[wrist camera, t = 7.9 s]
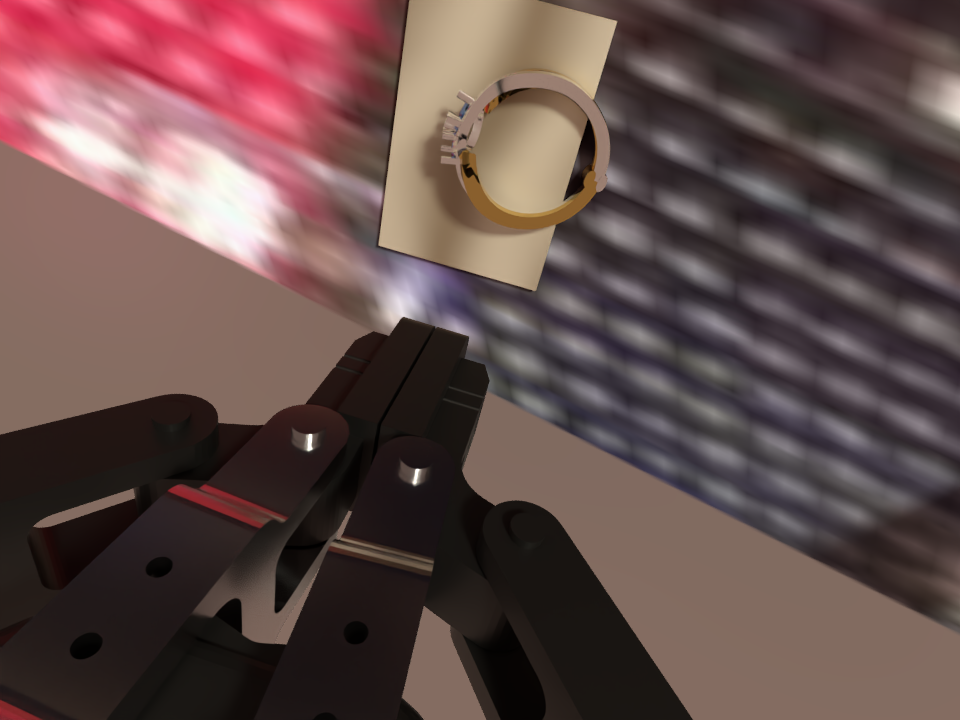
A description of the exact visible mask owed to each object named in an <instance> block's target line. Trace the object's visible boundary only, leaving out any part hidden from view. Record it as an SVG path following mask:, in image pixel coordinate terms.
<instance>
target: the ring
mask: <svg viewBox="0 0 960 720" xmlns="http://www.w3.org/2000/svg"><path fill="white" fill-rule="evenodd" d="M528 89H548V90H552V91H556V92H558V93H561V94H563V95H565V96H566V97H568V98H569V99H571V100H572V101H573V102H575V103H576V104H577V105H578V106H579V107H580V108H581V109H582V111H583V112H584V113H585V115H586V116H587V118H588V119H589V121H590V124H591V126H592V130H593V134H594V155H593V160H592V163H591V165H588V166H586V167H585V169H584V170H583V172H582V176H581V178H582V181H583V183H582V185H581V186H580V187H579V188H578V189H577V191H576V192H575V193H574V194H573V195H571V196H570V197H569V198H568V199H566V200H565V201H563V202H562V203H560V204H558V205H556V206H554V207H551V208H548V209H544V210H539V211H519V210H515V209H511V208H508V207H506V206H504V205H502V204H500V203H498V202H497V201H495V200H494V199H492V198H491V197H490V196H489V195H488V193H487V192H486V190H485V189H484V187H483V185H482V182H481V180H480V177H479V173H478V168H477V160H476V154H474V153H471V151H472V150H473V148H474V146H475V144H476V142H477V139H478V137H479V134H480V131H481V127H482V123H483V117H484V113H485V114H489V113H490V112H491V111H492V110H493V109H494V108H495V107H496V106H497V105H498V104H500V103H501V102H502V101H503V100H505V99H506V98H508V97H510V96H511V95H513V94H515V93H518V92H520V91H524V90H528ZM456 97H457V98H459V99H460V100H462V101H464V102H465V104H464V106H463V107H462V109H461V111H460V113H459V116H458V115H456V114H454V113H453V112H451V111H449V112H448V114H447V116H446V117H447V118H446V120H445V123H444V127H443V134H442V139H445V140H452V146H447V145H441V151H444V152H450V153H451V156H452V157H446V156H441V163H442V164H453V165H456V170H457V174H458V177H459V180H460V182H461V184H462V186H463V188H464V190H465V191H466V193H467V194H468V196H469V198H470V200H471V202H472V203H473V205H474V206H475V208H476V209H477V210H478V211H479V212H480V213H481V214H482V215H484V216H485V217H486V218H488V219H489V220H491V221H493V222H495V223H497V224H499V225H502V226H505V227H509V228H515V229H540V228H545V227H549V226H553V225H556V224H558V223H561V222H563V221H565V220H567V219H568V218H570V217H572V216H573V215H575V214H576V213H577V212H579V211H580V210H581V209H582V208H583V207H584V206H585V205H586V204H587V203H588V202H589V201H590V200H591V199H592V197H593V196H594V195H595V193H596V192H600V191H602V190H603V189H604V187H605V186H606V183H607V176H606V174H605V173H606V170H607V167H608V162H609V156H610V140H609V133H608V129H607V125H606V122H605V119H604V117H603V115H602V112H601V111H600V109H599V107H598V105H597V104H596V102H595V101H594V99H593V98H592V97H591V95H590V94H589V93H588V92H587V91H586V90H585V89H584V88H583V87H582V86H581V85H579V84H578V83H577V82H575V81H574V80H572V79H571V78H569V77H567V76H565V75H563V74H561V73H559V72H556V71H553V70H548V69H542V68H530V69H523V70H519V71H516V72H513V73H510V74H507V75H504V76H502V77H499V78H498V79H496V80H494V81H493V82H491V83H490V84H489V85H487V86H486V87H485V88H484V89H483V90H482V91H481V92H480V93H479V95H478V96H477V97H476V98H475V99H473V98H472V97H470V96H469V95H467V94H466V93H464V92H463V91H461V90H460V91H459V93H458V94H457V96H456ZM471 126H472V130H471V133H470V135H469V137H468V139H467V136H468V133H469V131H470V129H471Z"/></svg>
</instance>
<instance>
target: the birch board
mask: <svg viewBox="0 0 960 720" xmlns="http://www.w3.org/2000/svg"><path fill="white" fill-rule="evenodd" d="M616 24H617V21H614V20H611V19H607V18H603V17H599V16H595V15H592V14H588V13H584V12H580V11H576V10H573V9H569V8H565V7H561V6H557V5H554V4H550V3H546V2H542V1H538V0H409V8H408V16H407V24H406V32H405V40H404V48H403V56H402V63H401V71H400V79H399V87H398V95H397V103H396V111H395V119H394V127H393V135H392V143H391V151H390V159H389V167H388V174H387V182H386V190H385V198H384V206H383V214H382V222H381V230H380V238H379V246H382V247H385V248H389V249H392V250H396V251H399V252H402V253H406V254H409V255H413V256H416V257H420V258H423V259H427V260H430V261H433V262H437V263H440V264H444V265H447V266H451V267H454V268H458V269H461V270H464V271H468V272H471V273H475V274H478V275H482V276H485V277H488V278H492V279H495V280H499V281H502V282H506V283H509V284H513V285H516V286H519V287H523V288H526V289H530V290H533V291H536V289H537V285H538V282H539V279H540V275H541V272H542V269H543V266H544V262H545V259H546V256H547V252H548V249H549V246H550V242H551V239H552V236H553V232H554V229H555V226H556V225H553V226H549V227H545V228H540V229H515V228H509V227H505V226H502V225H499V224H497V223H495V222H493V221H491V220H489V219H488V218H486V217H485V216H484V215H482V214H481V213H480V212H479V211H478V210H477V209H476V208H475V206H474V205H473V203H472V202H471V200H470V198H469V196H468V194H467V193H466V191H465V190H464V188H463V186H462V184H461V182H460V180H459V177H458V174H457V170H456V165H453V164H442V163H441V156H446V157H452V156H451V153H450V152H444V151H441V145H447V146H452V140H445V139H442V134H443V127H444V123H445V120H446V118H447V117H446V116H447V114H448V112H449V111H451V112H453V113H454V114H456V115H458V116H459V113H460V111H461V109H462V107H463V106H464V104H465V102H464V101H462V100H460V99H459V98H457V97H456V96H457V94H458V93H459V91H460V90H461V91H463V92H464V93H466V94H467V95H469V96H470V97H472V98H473V99H475V98H476V97H477V96H478V95H479V93H480V92H481V91H482V90H483V89H484V88H485V87H486V86H487V85H489V84H490V83H491V82H493V81H494V80H496V79H498V78H499V77H502V76H504V75H507V74H510V73H513V72H516V71H519V70H523V69H530V68H542V69H548V70H553V71H556V72H559V73H561V74H563V75H565V76H567V77H569V78H571V79H572V80H574V81H575V82H577V83H578V84H579V85H581V86H582V87H583V88H584V89H585V90H586V91H587V92H588V93H589V94H590V95H591V97H592V98H593V99H594V97H595V93H596V90H597V87H598V83H599V80H600V77H601V73H602V70H603V67H604V64H605V60H606V57H607V54H608V50H609V47H610V44H611V40H612V37H613V34H614V30H615V27H616ZM587 120H588V118H587V116H586V115H585V113H584V112H583V111H582V109H581V108H580V107H579V106H578V105H577V104H576V103H575V102H573V101H572V100H571V99H569V98H568V97H566V96H565V95H563V94H561V93H558V92H556V91H552V90H548V89H528V90H524V91H520V92H518V93H515V94H513V95H511V96H510V97H508V98H506V99H505V100H503V101H502V102H501V103H500V104H498V105H497V106H496V107H495V108H494V109H493V110H492V111H491V112H490V113H489V114H485V113H484V117H483V123H482V127H481V131H480V134H479V137H478V139H477V142H476V144H475V146H474V148H473V150H472V151H471V153H474V154H476V160H477V168H478V173H479V177H480V180H481V182H482V185H483V187H484V189H485V190H486V192H487V193H488V195H489V196H490V197H491V198H492V199H494V200H495V201H497V202H498V203H500V204H502V205H504V206H506V207H508V208H511V209H515V210H519V211H539V210H544V209H548V208H551V207H554V206H556V205H558V204H560V203H562V202H563V199H564V196H565V193H566V189H567V186H568V183H569V179H570V176H571V173H572V170H573V166H574V163H575V160H576V156H577V153H578V150H579V146H580V143H581V140H582V136H583V133H584V130H585V126H586V123H587ZM471 130H472V126H471V129H470V131H469V133H468V136H467V139H468V137H469V135H470V133H471Z"/></svg>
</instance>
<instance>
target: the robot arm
mask: <svg viewBox="0 0 960 720" xmlns="http://www.w3.org/2000/svg"><path fill="white" fill-rule="evenodd" d="M468 341H469V336H466V335H463V334H459V333H456V332H453V331H449V330H446V329H442V328H439V327H437V328H436V329H435V326H432V325H429V324H425V323H422V322H419V321H415V320H412V319H409V318H405V317H403V318H401V320H400V321H399V323H398V324H397V325H396V327H395V328H394V330H393V331H392V333H391V334H390V336H387V335H384V334H381V333H377V332H374V331H373V332H371V333H369V334H368V335H365V336H363V337H361V338H359V339H357V340H355V342H354V343H353V344H352V345H351V346H350V348H349V349H348V350H347V352H346V353H345V355H344V357H342V358H341V359H340V361H339V362H338V363H337V364H336V367H335V368H334V369H332V371H331V372H330V373H329V375H328V376H327V377H326V378H325V380H324V381H323V382H322V383H321V385H320V386H319V387H318V389H317V390H316V391H315V392H314V394H313V395H312V396H311V398H310V399H309V400H308V401H307V403H306V404H304V405H296V406H292V407H288V408H286V409H283V410H281V411H279V412H278V413H276V414H275V415H274V416H273V417H272V418H271V419H270V420H269V421H268V422H267V423H266V424H265V425H239V424H224V423H218V415H217V412H216V409H215V408H214V407H213V405H212V404H210V403H209V402H207V401H206V400H204V399H202V398H199V397H197V396H192V395H186V394H168V395H162V396H158V397H153V398H149V399H145V400H141V401H137V402H132V403H129V404H125V405H120V406H116V407H112V408H108V409H104V410H100V411H96V412H91V413H87V414H84V415H79V416H75V417H71V418H67V419H63V420H59V421H54V422H50V423H46V424H42V425H38V426H34V427H30V428H26V429H22V430H18V431H14V432H9V433H6V434H1V435H0V720H423V718H422V717H421V716H420V714H419V713H418V712H417V711H416V710H415V709H414V708H413V707H412V706H410V705H409V704H408V703H407V702H406V701H405V700H404V699H403V698H402V695H403V691H404V687H405V682H406V678H407V674H408V669H409V665H410V662H411V657H412V653H413V649H414V645H415V641H416V636H417V632H418V628H419V624H420V619H421V616H422V611H423V607H424V606H425V607H426V608H428V609H429V610H430V611H432V612H433V613H434V614H436V615H437V616H438V617H440V618H441V619H442V620H444V621H445V622H447V623H448V624H449V625H451V630H450V631H451V637H452V640H453V643H454V646H455V648H456V650H457V653H458V655H459V657H460V660H461V662H462V664H463V666H464V669H465V671H466V673H467V675H468V678H469V680H470V683H471V685H472V687H473V690H474V692H475V694H476V696H477V699H478V701H479V703H480V706H481V708H482V710H483V713H484V715H485V717H486V720H693V719H692V718H691V716H690V715H689V713H688V712H687V710H686V709H685V707H684V706H683V704H682V703H681V701H680V700H679V698H678V697H677V695H676V694H675V693H674V691H673V690H672V688H671V687H670V685H669V684H668V682H667V681H666V679H665V678H664V676H663V675H662V673H661V672H660V670H659V669H658V667H657V666H656V664H655V663H654V661H653V660H652V659H651V657H650V655H649V654H648V652H647V651H646V650H645V648H644V647H643V645H642V644H641V642H640V641H639V639H638V638H637V636H636V635H635V633H634V632H633V630H632V629H631V627H630V626H629V624H628V623H627V621H626V620H625V618H624V617H623V615H622V614H621V613H620V611H619V609H618V608H617V606H616V605H615V604H614V602H613V601H612V599H611V598H610V596H609V595H608V593H607V592H606V590H605V589H604V587H603V586H602V584H601V583H600V581H599V580H598V578H597V577H596V575H595V574H594V572H593V571H592V570H591V568H590V566H589V565H588V564H587V562H586V561H585V559H584V558H583V556H582V555H581V553H580V552H579V550H578V549H577V547H576V546H575V544H574V543H573V541H572V540H571V538H570V537H569V536H568V534H567V532H566V531H565V529H564V528H563V527H562V525H561V524H560V522H559V521H558V520H557V519H556V518H555V517H554V516H553V515H552V514H551V513H550V512H548V511H547V510H545V509H544V508H542V507H540V506H538V505H535V504H533V503H529V502H525V501H507V502H503V503H500V504H498V505H496V506H495V505H493V504H492V503H490V502H488V501H487V500H485V499H483V498H482V497H481V496H480V495H478V494H477V493H476V492H475V491H474V490H473V489H472V488H471V487H470V486H469V484H468V483H467V481H466V480H465V478H464V475H463V472H462V469H463V466H464V463H465V461H466V458H467V455H468V452H469V449H470V446H471V443H472V440H473V437H474V434H475V431H476V427H477V424H478V420H479V417H480V413H481V409H482V406H483V402H484V399H485V395H486V392H487V388H488V384H489V378H488V374H487V371H486V367H485V365H484V364H480V363H477V362H474V361H470V360H467V359H464V358H465V354H466V350H467V346H468ZM132 488H134V493H135V499H132V500H129V501H126V502H123V503H120V504H117V505H114V506H111V507H108V508H105V509H102V510H99V511H96V512H93V513H90V514H87V515H84V516H81V517H78V518H75V519H72V520H69V521H66V522H63V523H60V524H57V525H54V526H51V527H45V528H36V527H33V526H34V525H35V524H36V523H37V522H39V521H40V520H42V519H44V518H46V517H48V516H50V515H52V514H56V513H58V512H62V511H65V510H68V509H71V508H74V507H77V506H80V505H83V504H86V503H89V502H93V501H96V500H99V499H102V498H105V497H108V496H111V495H114V494H117V493H120V492H123V491H126V490H129V489H132ZM348 511H352V513H351V515H350V517H349V520H348V522H347V524H346V527H345V529H344V532H343V534H342V536H341V538H340V540H337V532H338V529H339V527H340V526H341V524H342V522H343V520H344V518H345V516H346V514H347V512H348ZM318 569H319V570H318ZM317 571H318V573H317ZM316 573H317V575H316V578H315V580H314V582H313V584H312V587H311V589H310V592H309V594H308V596H307V598H306V600H305V603H304V605H303V607H302V610H301V612H300V614H299V617H298V619H297V621H296V623H295V626H294V628H293V631H292V633H291V635H290V637H289V640H288V642H287V644H286V645H285V644H275V641H276V639H277V636H278V634H279V632H280V630H281V628H282V626H283V624H284V623H285V621H286V619H287V618H288V616H289V615H290V613H291V612H292V610H293V609H294V607H295V605H296V604H297V602H298V601H299V599H300V598H301V596H302V594H303V593H304V591H305V590H306V588H307V587H308V585H309V584H310V582H311V580H312V579H313V577H314V576H315V574H316Z"/></svg>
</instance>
